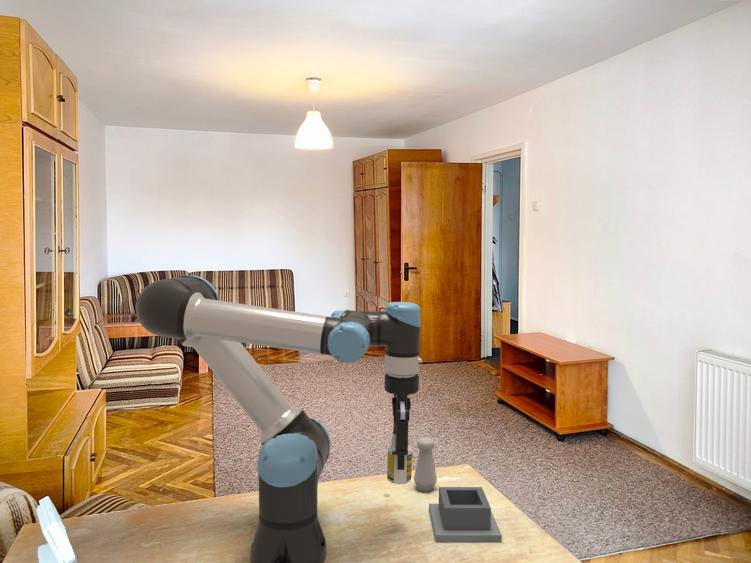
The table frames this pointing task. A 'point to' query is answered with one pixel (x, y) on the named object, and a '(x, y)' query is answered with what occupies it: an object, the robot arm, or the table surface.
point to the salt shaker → (425, 466)
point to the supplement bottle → (391, 462)
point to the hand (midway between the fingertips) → (399, 475)
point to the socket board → (463, 516)
